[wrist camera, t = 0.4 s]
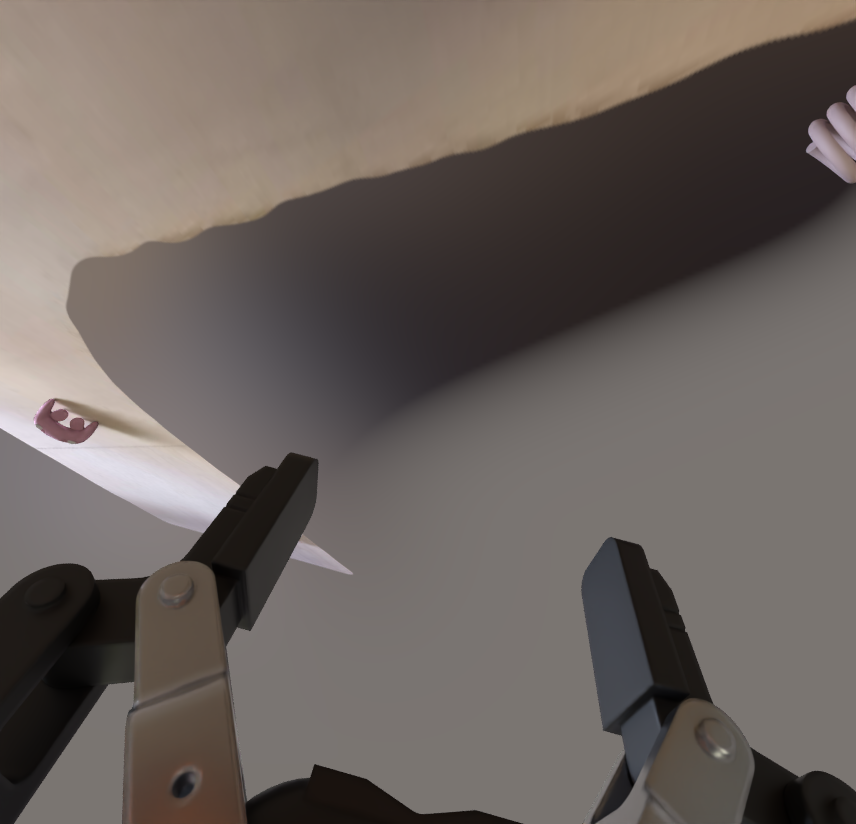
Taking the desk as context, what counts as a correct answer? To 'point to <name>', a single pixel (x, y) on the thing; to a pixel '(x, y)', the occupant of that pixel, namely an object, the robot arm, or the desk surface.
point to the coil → (837, 138)
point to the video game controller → (52, 428)
